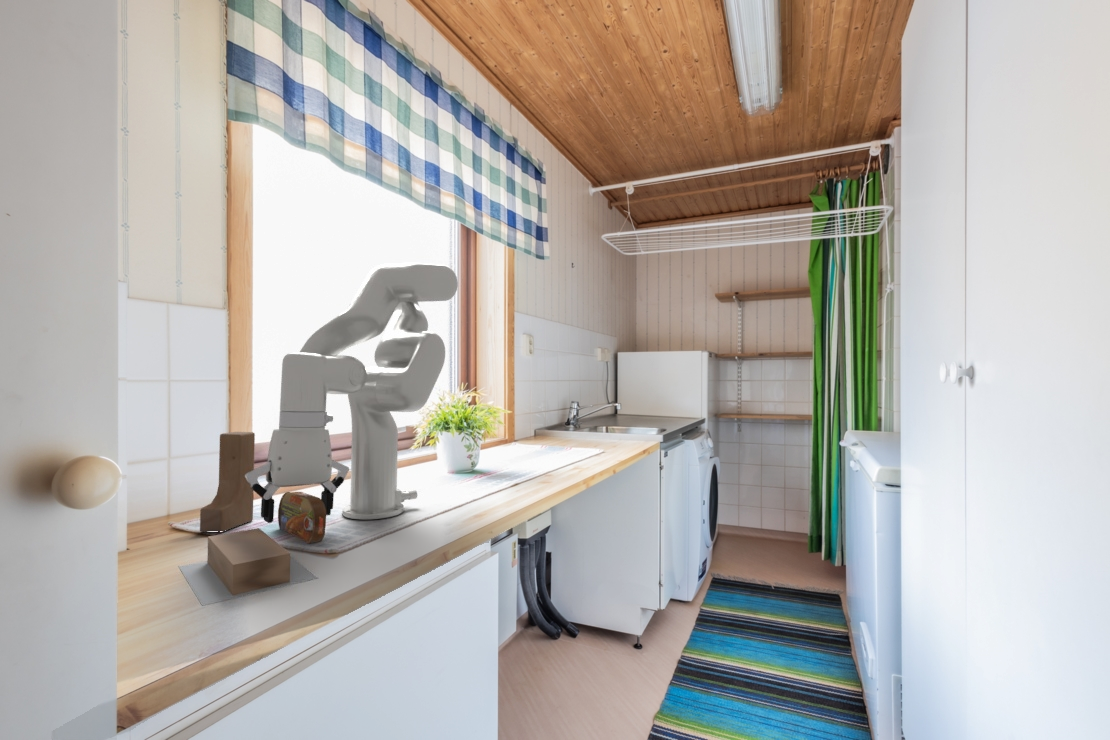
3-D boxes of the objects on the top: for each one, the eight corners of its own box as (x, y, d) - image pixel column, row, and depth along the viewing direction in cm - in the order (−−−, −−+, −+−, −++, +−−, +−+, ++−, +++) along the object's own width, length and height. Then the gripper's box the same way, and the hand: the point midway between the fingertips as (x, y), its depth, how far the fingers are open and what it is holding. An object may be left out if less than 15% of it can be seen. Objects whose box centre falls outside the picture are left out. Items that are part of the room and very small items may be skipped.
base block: (258, 553, 86) (258, 528, 86) (289, 582, 74) (290, 553, 74) (207, 562, 81) (208, 536, 81) (232, 595, 70) (233, 564, 70)
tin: (275, 533, 100) (276, 488, 100) (293, 530, 103) (294, 486, 103) (310, 552, 90) (311, 502, 90) (329, 548, 92) (330, 499, 93)
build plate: (279, 553, 89) (279, 547, 89) (318, 585, 76) (318, 577, 76) (178, 573, 80) (178, 566, 80) (202, 613, 67) (202, 605, 67)
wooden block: (220, 533, 99) (223, 436, 100) (198, 532, 100) (201, 436, 100) (253, 520, 108) (255, 432, 108) (233, 519, 109) (235, 431, 109)
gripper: (342, 419, 105) (338, 508, 104) (243, 421, 93) (237, 520, 92) (358, 422, 99) (354, 515, 99) (254, 423, 88) (249, 529, 87)
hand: (297, 517), depth 95 cm, fingers open, 9 cm apart
